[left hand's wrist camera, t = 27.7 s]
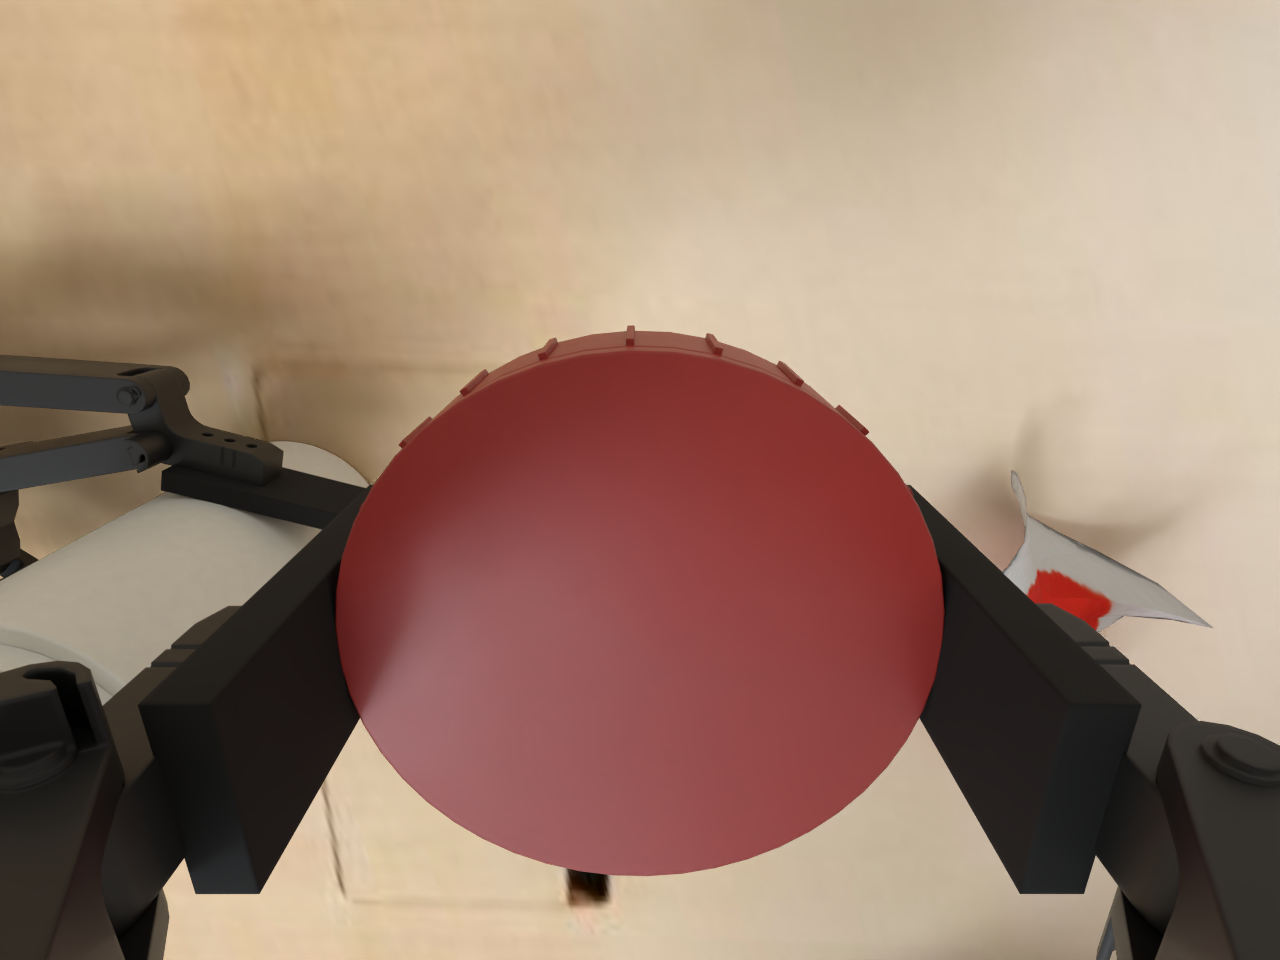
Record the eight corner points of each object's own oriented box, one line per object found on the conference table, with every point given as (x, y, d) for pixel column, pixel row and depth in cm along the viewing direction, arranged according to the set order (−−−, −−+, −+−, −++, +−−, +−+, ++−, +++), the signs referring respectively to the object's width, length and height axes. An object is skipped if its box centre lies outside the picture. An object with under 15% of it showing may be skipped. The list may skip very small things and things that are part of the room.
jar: (403, 598, 34) (186, 930, 18) (236, 609, 34) (-130, 947, 18) (367, 434, 31) (69, 650, 15) (185, 447, 31) (-305, 675, 15)
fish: (849, 799, 32) (1048, 910, 23) (863, 469, 34) (1054, 448, 24) (1014, 785, 36) (1239, 874, 27) (1019, 491, 38) (1234, 480, 28)
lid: (1000, 623, 12) (1060, 690, 10) (608, 864, 14) (603, 954, 12) (685, 194, 10) (696, 187, 8) (266, 558, 12) (199, 615, 10)
